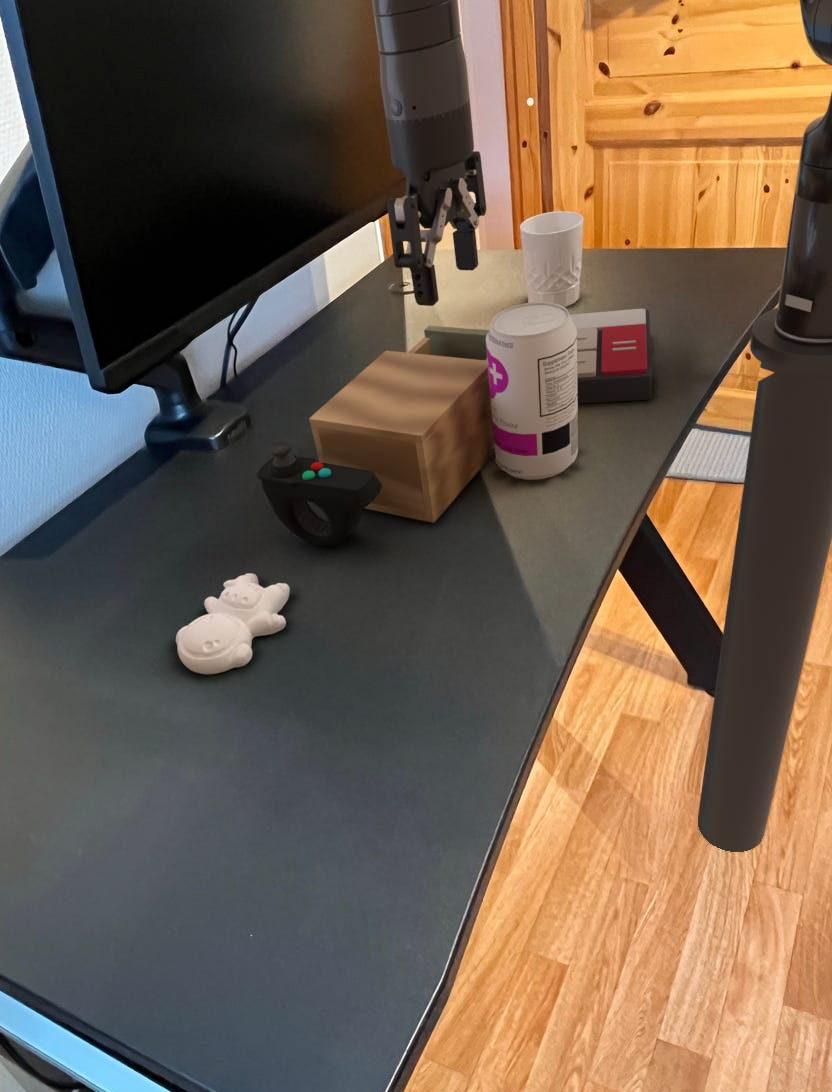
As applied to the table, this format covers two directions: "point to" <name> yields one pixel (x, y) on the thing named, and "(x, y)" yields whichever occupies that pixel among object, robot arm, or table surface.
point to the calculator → (613, 356)
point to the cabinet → (411, 429)
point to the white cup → (552, 256)
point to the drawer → (453, 343)
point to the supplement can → (533, 389)
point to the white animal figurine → (232, 625)
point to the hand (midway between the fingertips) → (448, 286)
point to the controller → (316, 495)
